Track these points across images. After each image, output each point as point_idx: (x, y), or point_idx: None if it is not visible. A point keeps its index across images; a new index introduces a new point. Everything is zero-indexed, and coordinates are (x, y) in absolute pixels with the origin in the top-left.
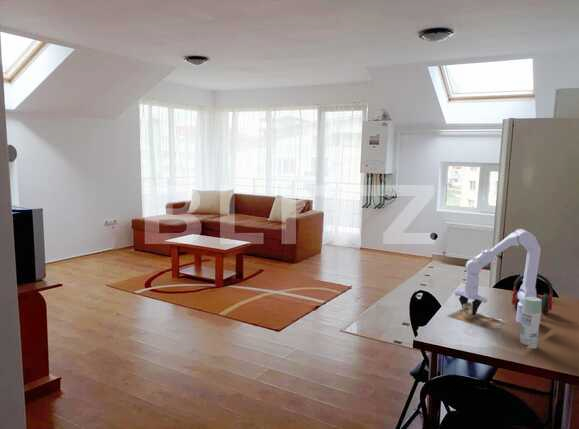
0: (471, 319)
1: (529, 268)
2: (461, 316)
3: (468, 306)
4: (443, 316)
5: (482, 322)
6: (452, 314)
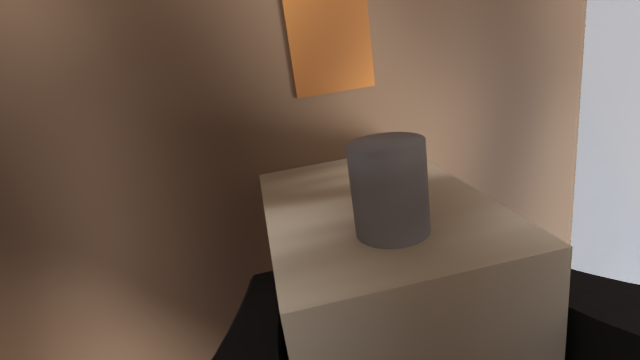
0: (237, 180)
1: None
2: None
3: (377, 281)
4: (619, 9)
5: (33, 228)
6: (551, 95)
